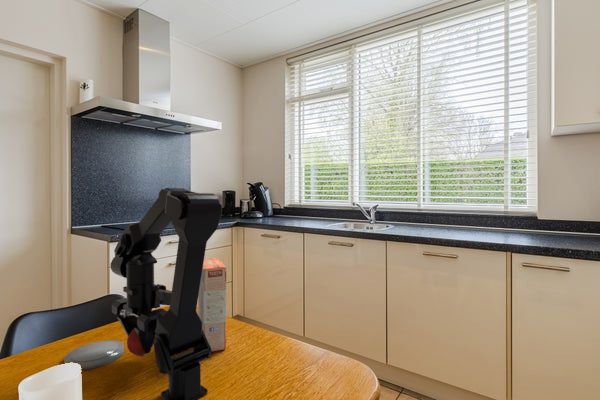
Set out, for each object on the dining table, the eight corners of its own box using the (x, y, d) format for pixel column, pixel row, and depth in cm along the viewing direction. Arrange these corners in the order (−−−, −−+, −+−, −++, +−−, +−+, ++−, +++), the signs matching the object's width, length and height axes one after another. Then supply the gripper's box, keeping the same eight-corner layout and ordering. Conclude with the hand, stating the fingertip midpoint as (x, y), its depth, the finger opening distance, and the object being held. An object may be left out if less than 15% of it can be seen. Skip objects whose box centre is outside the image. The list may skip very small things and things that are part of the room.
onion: (143, 363, 70) (143, 327, 70) (121, 361, 71) (120, 325, 71) (160, 351, 76) (160, 318, 76) (139, 349, 77) (138, 316, 77)
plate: (132, 355, 77) (132, 348, 77) (73, 376, 68) (72, 369, 68) (113, 340, 85) (113, 335, 85) (57, 358, 76) (57, 351, 76)
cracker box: (227, 350, 79) (227, 266, 79) (202, 354, 77) (202, 268, 77) (219, 328, 92) (219, 256, 92) (197, 332, 90) (197, 258, 90)
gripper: (194, 281, 74) (194, 348, 74) (156, 270, 86) (156, 327, 86) (145, 292, 65) (145, 368, 65) (110, 278, 77) (111, 342, 77)
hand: (141, 349), depth 74 cm, fingers closed on onion, 6 cm apart
